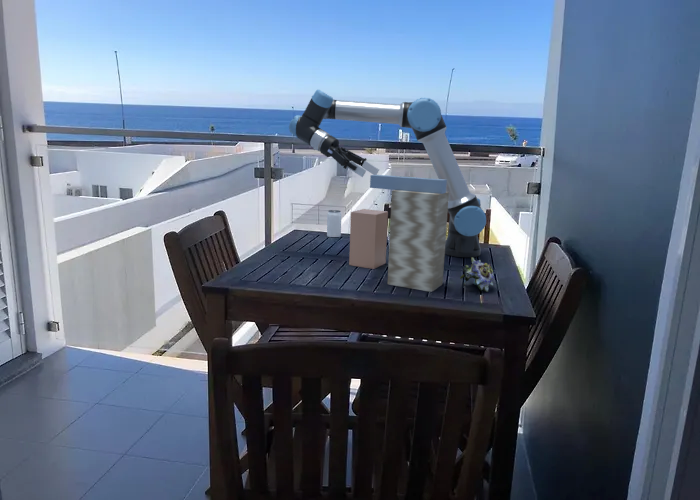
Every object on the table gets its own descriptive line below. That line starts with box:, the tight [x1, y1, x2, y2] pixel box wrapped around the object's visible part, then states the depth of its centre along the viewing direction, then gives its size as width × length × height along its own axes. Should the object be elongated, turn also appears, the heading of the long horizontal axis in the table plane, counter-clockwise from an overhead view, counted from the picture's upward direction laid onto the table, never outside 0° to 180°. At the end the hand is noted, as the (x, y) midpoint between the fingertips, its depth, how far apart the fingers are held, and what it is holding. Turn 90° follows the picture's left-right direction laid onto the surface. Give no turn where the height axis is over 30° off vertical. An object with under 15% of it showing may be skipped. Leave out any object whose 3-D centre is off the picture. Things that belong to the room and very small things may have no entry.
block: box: [348, 208, 389, 270], centre depth 191 cm, size 10×10×20 cm
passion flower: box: [459, 257, 495, 293], centre depth 167 cm, size 11×11×12 cm
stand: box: [387, 190, 449, 293], centre depth 166 cm, size 15×10×30 cm, turn 62°
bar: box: [369, 174, 447, 194], centre depth 164 cm, size 24×4×4 cm, turn 62°
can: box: [326, 209, 342, 238], centre depth 242 cm, size 6×6×12 cm
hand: (371, 173), depth 191 cm, fingers open, 13 cm apart
